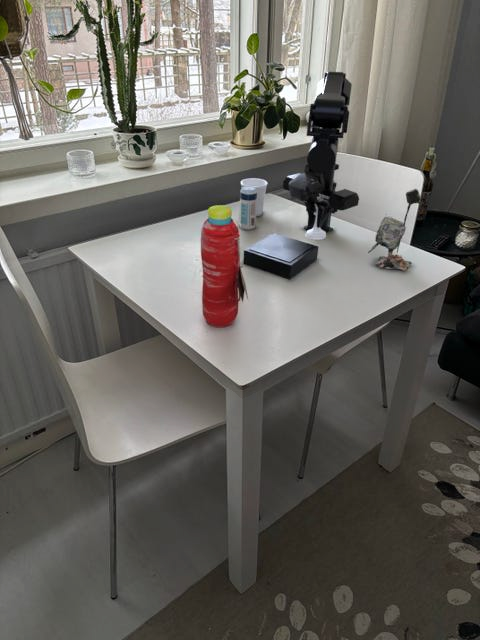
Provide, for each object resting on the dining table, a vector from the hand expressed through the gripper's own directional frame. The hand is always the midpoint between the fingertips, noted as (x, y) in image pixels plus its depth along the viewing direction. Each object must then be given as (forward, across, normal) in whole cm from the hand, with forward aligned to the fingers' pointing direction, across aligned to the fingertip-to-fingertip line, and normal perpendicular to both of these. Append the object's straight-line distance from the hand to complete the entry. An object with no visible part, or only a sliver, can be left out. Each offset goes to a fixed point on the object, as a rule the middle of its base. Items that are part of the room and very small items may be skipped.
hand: (315, 225), depth 117 cm
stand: (+12, -8, -3) cm, 15 cm away
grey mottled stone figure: (+12, +10, +19) cm, 25 cm away
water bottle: (+12, +5, -32) cm, 34 cm away
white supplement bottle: (+13, -31, +6) cm, 34 cm away
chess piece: (+3, 0, 0) cm, 3 cm away
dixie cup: (+13, -39, +15) cm, 44 cm away
